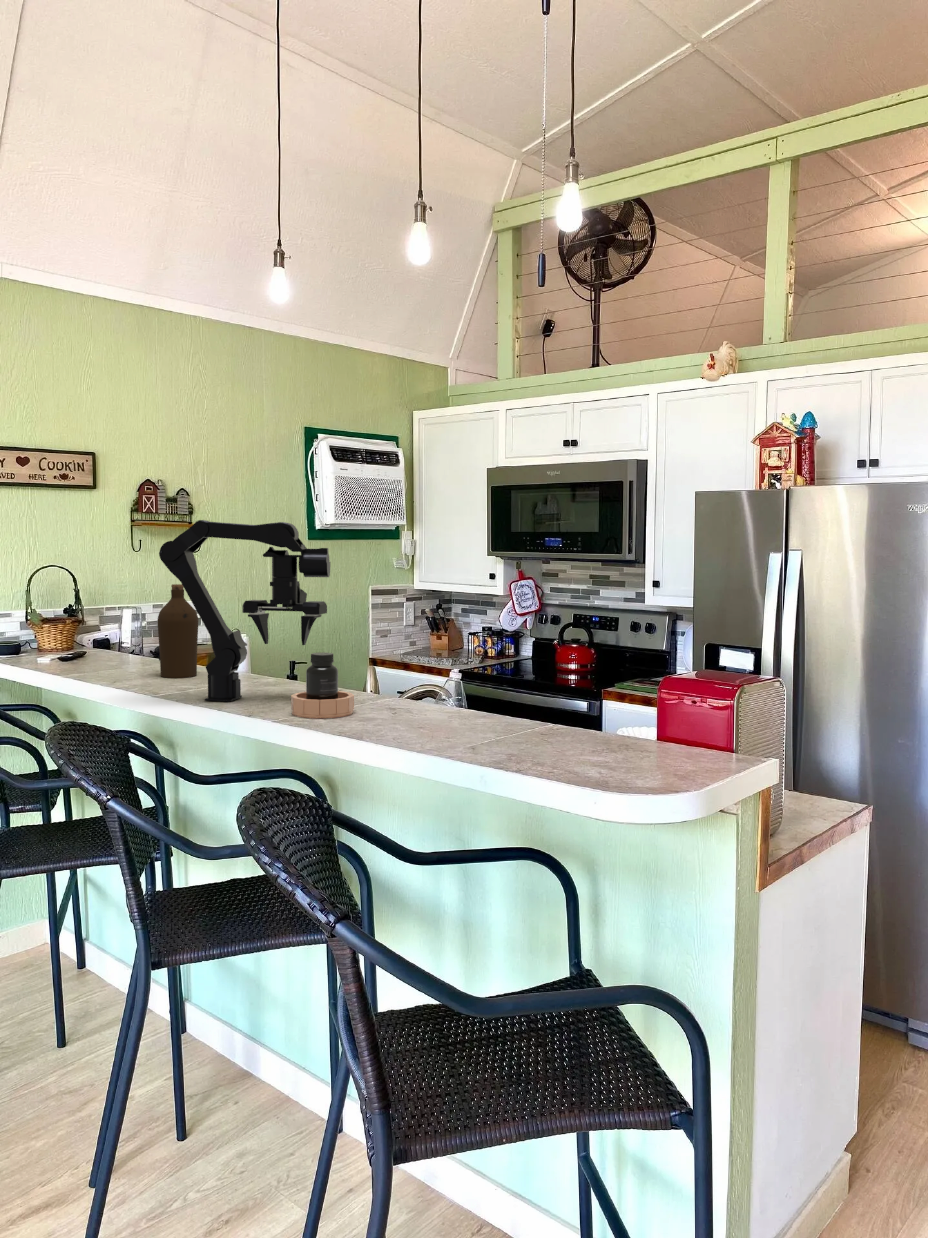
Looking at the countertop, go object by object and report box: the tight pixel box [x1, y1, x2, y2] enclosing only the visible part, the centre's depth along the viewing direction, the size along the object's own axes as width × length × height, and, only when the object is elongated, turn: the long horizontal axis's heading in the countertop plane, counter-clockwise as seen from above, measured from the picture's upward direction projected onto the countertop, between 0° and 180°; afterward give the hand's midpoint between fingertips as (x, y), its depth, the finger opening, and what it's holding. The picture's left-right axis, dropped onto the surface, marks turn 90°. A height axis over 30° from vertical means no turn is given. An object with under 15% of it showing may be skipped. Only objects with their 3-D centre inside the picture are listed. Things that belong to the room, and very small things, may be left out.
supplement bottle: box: [305, 651, 339, 700], centre depth 194 cm, size 7×7×12 cm
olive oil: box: [157, 583, 199, 679], centre depth 245 cm, size 11×11×25 cm
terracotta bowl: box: [290, 690, 355, 719], centre depth 194 cm, size 13×13×4 cm
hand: (285, 644), depth 208 cm, fingers open, 9 cm apart
